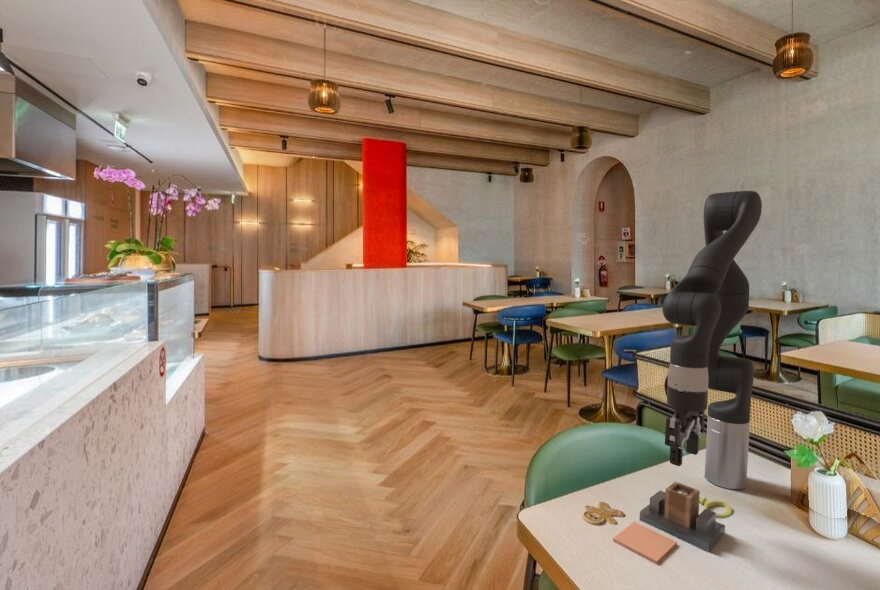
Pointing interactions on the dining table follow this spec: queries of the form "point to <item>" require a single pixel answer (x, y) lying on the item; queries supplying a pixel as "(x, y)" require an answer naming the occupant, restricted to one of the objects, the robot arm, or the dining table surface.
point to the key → (714, 503)
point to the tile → (645, 542)
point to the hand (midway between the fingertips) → (684, 458)
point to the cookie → (601, 514)
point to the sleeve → (682, 504)
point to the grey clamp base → (698, 534)
